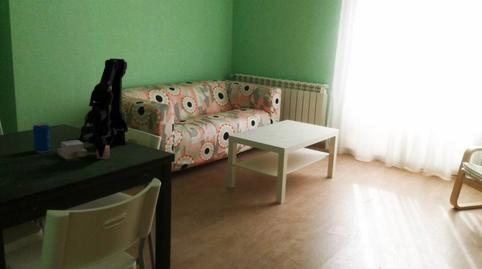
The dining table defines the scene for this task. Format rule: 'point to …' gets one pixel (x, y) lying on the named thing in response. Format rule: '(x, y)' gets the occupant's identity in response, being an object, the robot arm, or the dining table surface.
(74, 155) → the tower base
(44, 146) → the beverage can
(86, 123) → the phone stand
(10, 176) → the dining table surface
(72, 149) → the tower top
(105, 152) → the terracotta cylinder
